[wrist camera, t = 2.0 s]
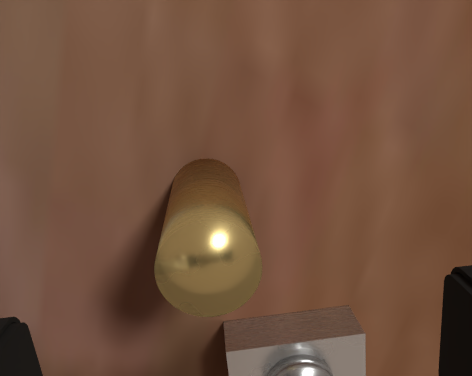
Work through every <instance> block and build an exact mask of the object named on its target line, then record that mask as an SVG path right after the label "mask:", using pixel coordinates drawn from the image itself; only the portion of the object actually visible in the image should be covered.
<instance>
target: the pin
mask: <svg viewBox="0 0 472 376" xmlns="http://www.w3.org/2000/svg"><path fill="white" fill-rule="evenodd" d="M154 272H155V279H156V283H157V286H158V288H159V290H160V292H161V293H162V295H163V296H164V298H165V299H166V300H167V301H168V302H169V303H170V304H172V305H173V306H174V307H176V308H177V309H179V310H181V311H183V312H185V313H188V314H191V315H195V316H201V317H214V316H220V315H224V314H227V313H229V312H232V311H234V310H236V309H238V308H239V307H241V306H242V305H244V304H245V303H246V302H247V301H248V300H249V299H250V298H251V297H252V295H253V294H254V292H255V291H256V289H257V287H258V285H259V283H260V280H261V275H262V259H261V256H260V252H259V249H258V245H257V242H256V238H255V235H254V231H253V228H252V224H251V221H250V217H249V214H248V211H247V207H246V204H245V200H244V197H243V193H242V190H241V186H240V183H239V180H238V178H237V176H236V174H235V173H234V171H233V170H232V169H231V168H230V167H229V166H227V165H226V164H224V163H222V162H220V161H218V160H214V159H199V160H195V161H192V162H190V163H188V164H187V165H185V166H184V167H183V168H182V169H181V170H180V171H179V172H178V173H177V175H176V177H175V179H174V181H173V185H172V189H171V193H170V198H169V202H168V207H167V211H166V216H165V220H164V224H163V229H162V233H161V238H160V242H159V246H158V251H157V255H156V260H155V267H154Z"/></svg>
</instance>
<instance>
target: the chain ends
mask: <svg viewBox="0 0 472 376" xmlns="http://www.w3.org/2000/svg"><path fill="white" fill-rule="evenodd" d="M223 323H224V335H225V348H226V357H227V365H228V373H229V376H366V365H365V332H364V330H363V329H362V327H361V325H360V324H359V322H358V320H357V318H356V317H355V315H354V313H353V312H352V310H351V308H350V307H349V305H348V306H340V307H333V308H325V309H318V310H310V311H302V312H295V313H287V314H279V315H272V316H264V317H257V318H249V319H241V320H234V321H226V322H223Z"/></svg>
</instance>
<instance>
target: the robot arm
mask: <svg viewBox="0 0 472 376" xmlns="http://www.w3.org/2000/svg"><path fill="white" fill-rule="evenodd" d="M0 376H43V375H42V371H41V368H40V365H39V361H38V358H37V355H36V351H35V348H34V345H33V341H32V338H31V334H30V331H29V328H28V326H27V324H26V323H20V321H19V319H18V318H16V317H8V318H0ZM439 376H472V265H471V266H462V267H455V268H454V269H453V270H452V272H451V274H450V275H447V276H446V277H445V280H444V292H443V308H442V325H441V341H440V357H439Z"/></svg>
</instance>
